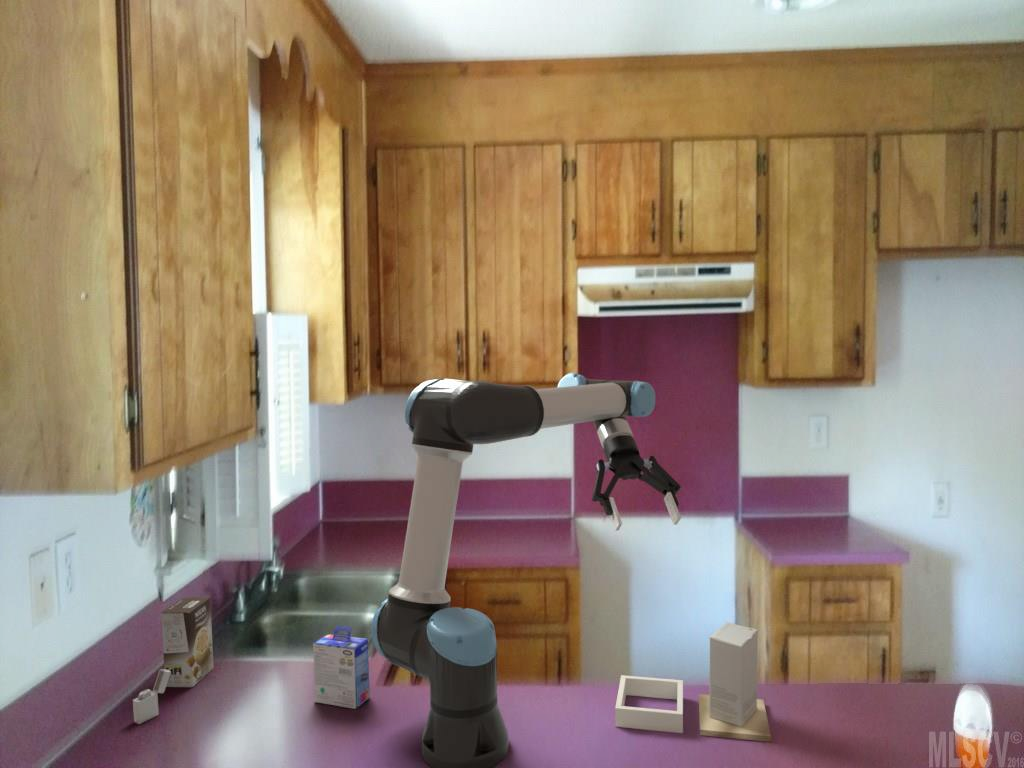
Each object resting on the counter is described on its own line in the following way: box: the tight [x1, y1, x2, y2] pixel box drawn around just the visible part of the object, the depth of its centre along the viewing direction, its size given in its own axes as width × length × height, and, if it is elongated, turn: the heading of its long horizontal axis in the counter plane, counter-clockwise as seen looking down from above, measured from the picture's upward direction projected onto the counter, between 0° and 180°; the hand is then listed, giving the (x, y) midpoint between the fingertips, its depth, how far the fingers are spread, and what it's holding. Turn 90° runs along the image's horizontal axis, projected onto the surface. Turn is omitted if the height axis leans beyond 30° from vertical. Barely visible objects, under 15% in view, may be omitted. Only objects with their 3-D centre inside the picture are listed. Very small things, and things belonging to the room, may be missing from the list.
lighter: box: [132, 668, 171, 725], centre depth 144 cm, size 7×2×8 cm, turn 148°
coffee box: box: [160, 596, 214, 688], centre depth 159 cm, size 9×6×16 cm
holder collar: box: [614, 674, 684, 734], centre depth 140 cm, size 12×13×4 cm
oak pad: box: [698, 693, 772, 743], centre depth 137 cm, size 12×13×1 cm
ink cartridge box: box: [312, 625, 371, 710], centre depth 147 cm, size 10×6×14 cm, turn 71°
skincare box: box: [708, 622, 759, 727], centre depth 137 cm, size 8×7×16 cm
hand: (648, 524), depth 156 cm, fingers open, 13 cm apart
